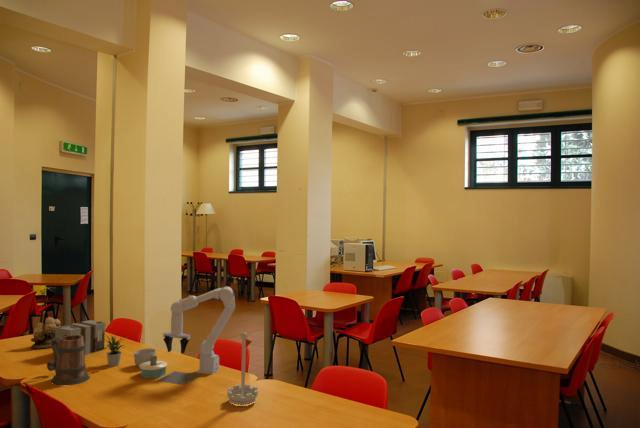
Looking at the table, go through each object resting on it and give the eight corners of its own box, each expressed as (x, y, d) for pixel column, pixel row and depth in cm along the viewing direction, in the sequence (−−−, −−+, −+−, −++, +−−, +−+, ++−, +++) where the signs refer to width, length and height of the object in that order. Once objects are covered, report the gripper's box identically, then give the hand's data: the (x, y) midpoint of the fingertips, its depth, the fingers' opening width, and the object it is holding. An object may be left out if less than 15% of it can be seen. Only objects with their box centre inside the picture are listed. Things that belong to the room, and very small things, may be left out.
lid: (172, 363, 247) (172, 354, 247) (156, 371, 234) (157, 361, 234) (150, 360, 250) (150, 351, 250) (133, 368, 238) (133, 358, 238)
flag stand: (244, 410, 203) (246, 337, 202) (220, 403, 209) (222, 332, 209) (263, 400, 214) (265, 331, 214) (241, 394, 221) (242, 327, 220)
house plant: (90, 366, 253) (90, 334, 253) (110, 359, 265) (111, 329, 265) (111, 370, 247) (112, 338, 247) (131, 363, 260) (132, 332, 260)
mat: (200, 375, 243) (200, 374, 243) (184, 385, 229) (184, 384, 229) (174, 372, 248) (174, 371, 248) (156, 381, 233) (156, 380, 233)
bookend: (108, 349, 284) (108, 321, 284) (69, 360, 262) (69, 330, 262) (89, 345, 291) (89, 318, 291) (49, 356, 269) (50, 326, 269)
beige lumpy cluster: (58, 341, 298) (59, 313, 298) (68, 344, 292) (69, 316, 291) (26, 347, 283) (27, 317, 283) (36, 351, 277) (37, 321, 277)
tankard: (97, 377, 237) (98, 335, 237) (67, 388, 222) (68, 344, 222) (64, 369, 247) (65, 329, 247) (32, 379, 232) (33, 337, 231)
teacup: (148, 370, 249) (149, 354, 249) (129, 368, 252) (129, 352, 252) (162, 362, 263) (163, 347, 263) (144, 360, 265) (144, 345, 265)
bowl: (169, 372, 246) (169, 363, 246) (156, 379, 236) (156, 370, 236) (150, 370, 249) (150, 361, 249) (136, 377, 239) (136, 367, 239)
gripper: (159, 325, 246) (158, 352, 246) (185, 328, 242) (184, 355, 242) (167, 322, 253) (167, 349, 253) (192, 325, 249) (192, 352, 249)
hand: (176, 352), depth 248 cm, fingers open, 7 cm apart
